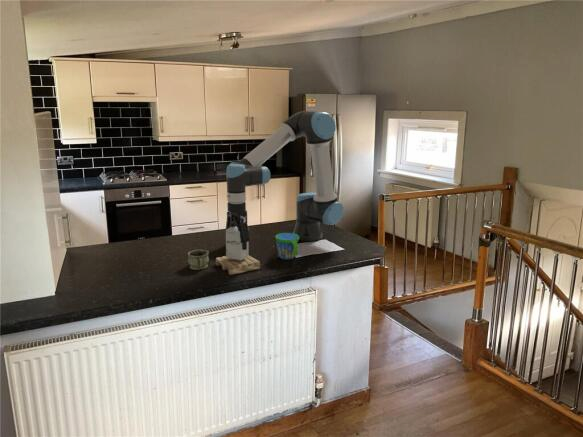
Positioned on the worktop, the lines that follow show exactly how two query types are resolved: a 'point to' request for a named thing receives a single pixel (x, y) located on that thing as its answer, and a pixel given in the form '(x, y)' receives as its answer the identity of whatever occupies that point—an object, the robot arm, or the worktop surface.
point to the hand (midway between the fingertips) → (237, 252)
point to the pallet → (238, 264)
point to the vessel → (198, 259)
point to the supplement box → (234, 243)
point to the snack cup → (287, 245)
